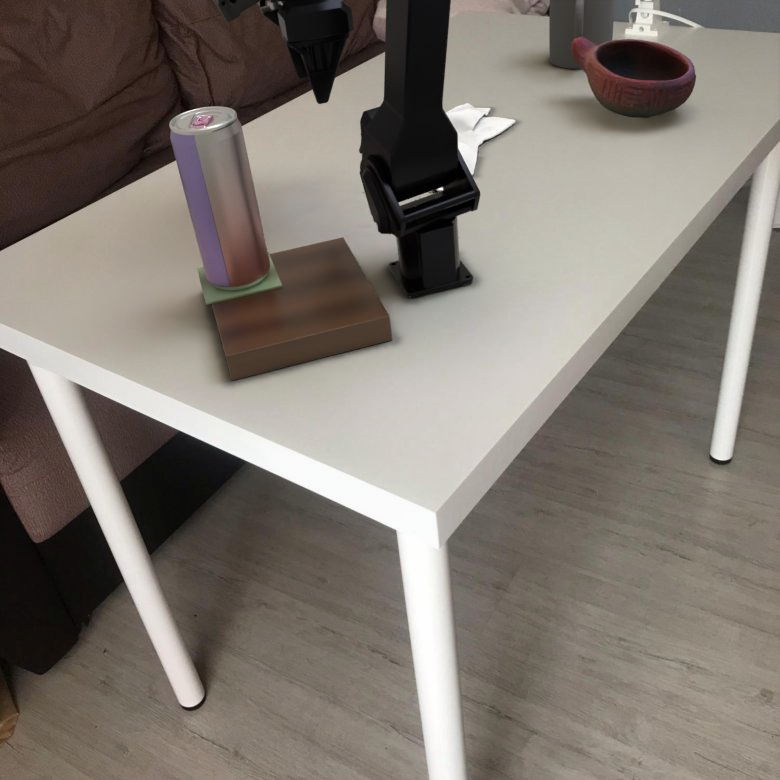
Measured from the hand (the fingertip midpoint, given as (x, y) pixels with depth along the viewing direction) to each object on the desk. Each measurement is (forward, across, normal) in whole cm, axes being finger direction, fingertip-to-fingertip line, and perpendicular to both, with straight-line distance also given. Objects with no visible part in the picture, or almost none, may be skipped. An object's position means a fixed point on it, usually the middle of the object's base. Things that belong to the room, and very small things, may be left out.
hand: (312, 89), depth 89 cm
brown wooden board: (+13, +21, -8) cm, 26 cm away
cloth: (+13, -10, +17) cm, 24 cm away
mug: (+13, -29, +45) cm, 55 cm away
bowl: (+13, -8, +41) cm, 44 cm away
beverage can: (+10, +17, -12) cm, 23 cm away
